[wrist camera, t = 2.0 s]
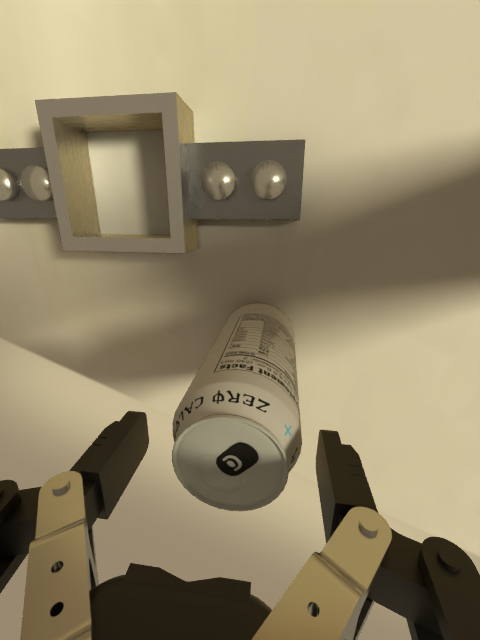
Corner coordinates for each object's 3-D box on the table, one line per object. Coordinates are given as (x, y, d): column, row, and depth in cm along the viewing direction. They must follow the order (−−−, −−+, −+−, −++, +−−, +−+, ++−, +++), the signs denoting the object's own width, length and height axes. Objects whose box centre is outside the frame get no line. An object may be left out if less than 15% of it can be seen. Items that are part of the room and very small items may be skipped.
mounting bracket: (306, 106, 20) (310, 84, 17) (296, 250, 23) (298, 255, 20) (-20, 121, 24) (-69, 106, 20) (10, 244, 27) (-29, 248, 23)
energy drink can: (212, 331, 27) (130, 458, 13) (258, 285, 25) (223, 374, 11) (259, 375, 27) (232, 540, 13) (308, 334, 25) (337, 477, 11)
